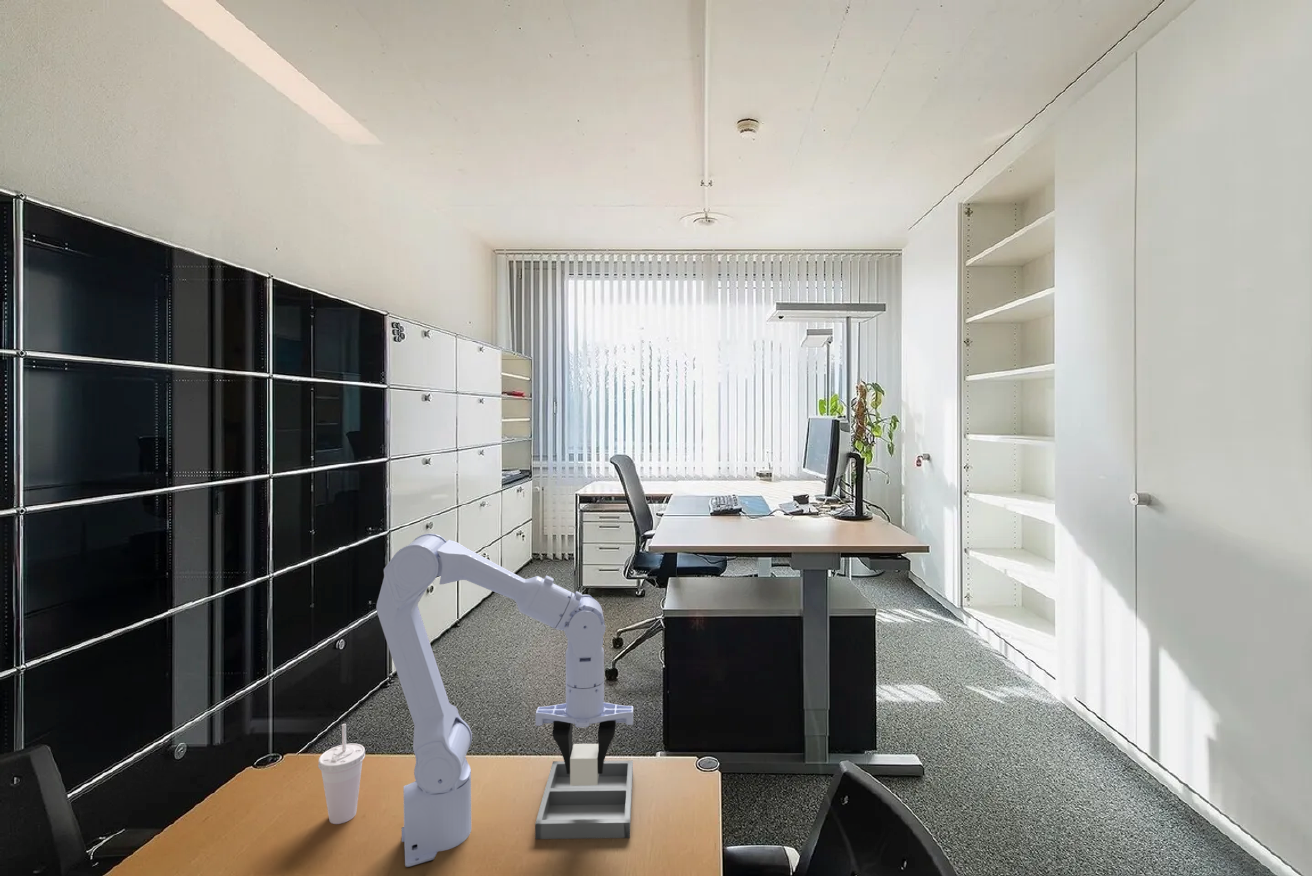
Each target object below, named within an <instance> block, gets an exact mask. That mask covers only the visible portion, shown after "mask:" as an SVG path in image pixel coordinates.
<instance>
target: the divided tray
mask: <svg viewBox="0 0 1312 876" xmlns="http://www.w3.org/2000/svg"><path fill="white" fill-rule="evenodd" d="M633 764H634V762H633V760H604V765H603V773H602V774H599V778H598V785H579V786H570V774H567V771H566V766H565V762H564V760H563V761H562V760H561V761H560V760H559V761H558V760H556V761H553V760H552V764H551V766H550V770H549V771H550V772H549V773H548V778H547V782H546V785H545V789H544V792H543V796H542V799H541V803H540V806H539V809H538V812H537V815H536V820H535V822H534V827H535V828H534V830H535V831H534V832H535V833H534V834H535V835H534V837H535V838H534V839H535V840H567V839H568V840H569V839H570V840H571V839H572V840H579V839H580V840H581V839H586V840H587V839H588V840H589V839H630V838H631V821H632V801H633V800H632V799H633V778H634V777H633V776H634V765H633Z"/></svg>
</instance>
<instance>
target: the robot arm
mask: <svg viewBox="0 0 1312 876" xmlns="http://www.w3.org/2000/svg"><path fill="white" fill-rule="evenodd" d="M437 577H440V579H439V585H444V584H450V583H454V582H459V581H468V582H469V583H471V584H474V585H476V586H479V587H482V588H484V589H486V590H489V591H492V592H494V593H497V594H499V595H501V596H503V597H505V598H509V599H511V600H513V601H514V602H515V603H516V607H517V609H518V612H519V613H520V614H522V615H524V616H527V617H529V618H531V619H533V620H536V621H537V622H539V623H542V624H544V625H547V626H549V628H552V629H555V630H557V631H563V632H564V634H565V638H567V648H566V650H565V703H559V704H553V705H546V706H538V707H537V708H536V711H535V726H543V725H544V724H553V726H552V728H553V729H552V731H551V734H552V738H553V740H554V742H555V743H556V744H557V746H558V748H559V751H560V752H561V756H562V758H563V761H564V762H565V766H566V771H567V774H570V757H571V753H572V749H573V725H574V726H575V728H588V727H590V725H591V724H593V725H594V724H599V726H598V730H597V741H598V742H597V744H598V748H599V756H598V774H602V773H603V765H604V761H605V758H606V756H607V752H608V750H609V747H610V745H611V743H612V740H613V739H614V737H615V733H616V725H617V723H620V724H621V723H622V724H623V723H625V725H627V726H633V725H634V706H633V705H622V704H618V703H617V704H616V703H610V702H605V650H604V647H603V644H604V635H605V632H606V628H607V626H606V624H605V617H604V611H603V609H602V605H601V604H600V602H599V601H597V600H596V599H595V598H594V597H592V595H590V594H583V593H582V592H579V591H577V590H576V591H575V593H574V592H572V591H571V590H568V589H566V588H564V587H562V586H560V585H559V584H555V583H554V581H555V580H554V579H555V578H553V577H551V576H549V575H545V577H544V578H543V577H541V576H539V575H536V576H533V577H530V578H523V577H522V576H520V575H518V574H516V573H514V572H512V571H510V570H508V569H507V568H505V567H504V566H502V565H499V564H497V563H496V562H494V561H491V560H490V559H488V558H487V557H485V556H482V555H481V554H478V553H477V552H476V551H473V550H471V549H469V548H468V547H466V546H464V545H462V544H461V543H459V542H457V541H454V540H452V539H448V540H446V538H445V537H443V536H441V535H439V534H436V533H429V532H428V533H423V534H420V535H419V536H417V537H416V538H415V539H413V541H412V542H410V543H409V544H408V545H405V546H403V547H402V548H400V549H399V550H397V552H396V553H395V554H394V555H393V556H392V558H391V559H390V560H389V562H388V563H387V565H385V567H384V568H383V579H382V584H381V587H380V591H379V594H378V598H377V601H376V607H375V608H376V613H377V616H378V618H379V623H380V626H381V629H382V632H383V634H384V638H385V640H386V644H387V647H388V650H389V653H390V656H391V659H392V662H393V665H394V667H395V670H396V675H397V677H398V680H399V683H400V686H401V688H402V692H403V695H404V697H405V700H406V704H407V707H408V710H409V713H410V716H411V719H412V721H413V726H414V727H413V741H412V742H413V743H412V744H413V745H412V746H413V747H412V749H413V753H414V756H415V765H414V770H413V773H414V774H413V775H414V779H415V781H413V782H411V783H408V784H406V785H403V826H402V827H401V843H404V865H405V867H406V868H409V867H413V866H417V865H420V864H423V863H427V862H430V861H433V860H435V857H436V856H437V854H438V852H443V851H449V850H450V849H453V848H455V847H457V846H459V845H461V844H462V843H464V842H465V840H467V838H469V836H470V834H471V833H472V777H471V776H472V772H471V771H472V769H471V765H470V764H469V762H468V760H467V758H466V756H467V753H468V751H469V749H470V747H471V745H472V740H473V732H472V729H471V728H470V725H469V724H468V723H467V722H466V721H465V720H463V719H462V717H461V715H460V713H459V710H458V708H457V706H455V705H453V704H451V703H450V700H449V697H448V694H447V691H446V688H445V685H444V681H443V679H442V676H441V673H440V669H439V667H438V663H437V661H436V658H435V655H434V652H433V651H434V650H433V648H432V646H431V643H430V639H429V635H428V633H427V629H426V627H425V624H424V623H425V622H424V621H423V618H422V614H421V611H420V609H419V602H420V601H421V599H422V598H423V596H424V595H425V592H426V591H427V590H428V588H429V586H431V584H432V583H433V582H435V580H436V578H437Z"/></svg>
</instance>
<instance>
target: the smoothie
mask: <svg viewBox="0 0 1312 876" xmlns="http://www.w3.org/2000/svg"><path fill="white" fill-rule="evenodd" d="M365 757H366V749H365V747H364V746H363V744H359V743H350V742H349V743H347V723H343V724H341V744H339V745H337V746H333V747H331V748H329V749H327V750H326V751H324V752H322V754H321V755H320V756H319V757H318V765H317V768H318V769H319V770H320V771H321V778H322V783H323V789H324V796H325V800H326V801H325V802H326V808H327V815H328V819H329V820H328V821H329V823H331V824H334V825H340V824H345V823H347V822H348V821H350V820H352V819H353V818H355V816H356V815H357V810H358V802H359V795H360V794H359V793H360V785H361V777H362V769H363V760H365Z"/></svg>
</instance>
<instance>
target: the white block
mask: <svg viewBox="0 0 1312 876" xmlns="http://www.w3.org/2000/svg"><path fill="white" fill-rule="evenodd" d="M572 747H573V749H572V753H571V757H570V786H579V785H598V778H599V774H598V756H599V748H598V743H572Z"/></svg>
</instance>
